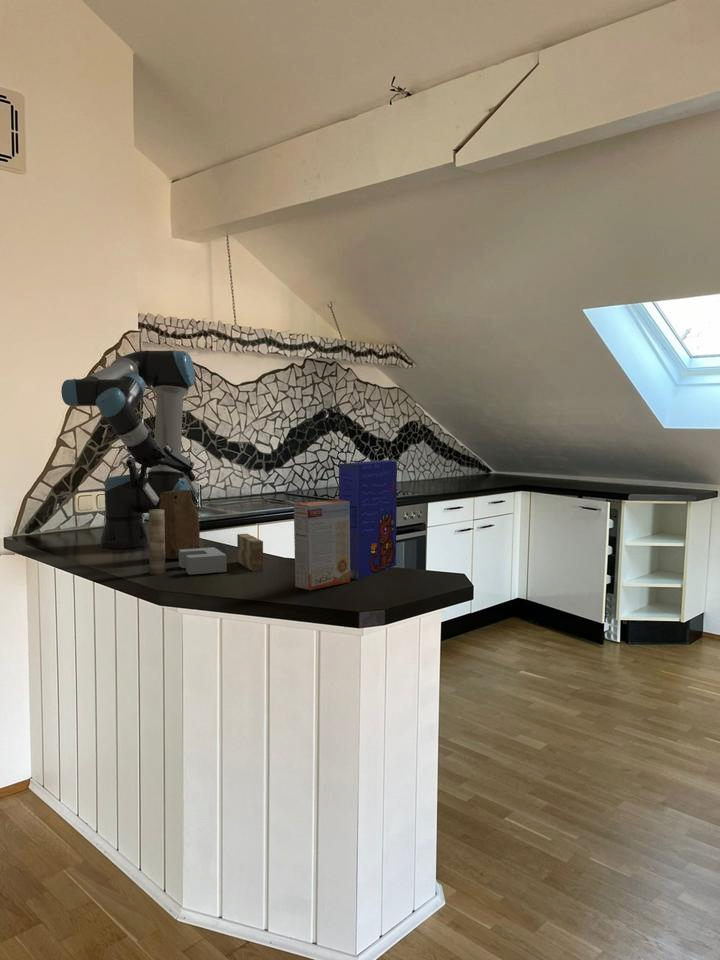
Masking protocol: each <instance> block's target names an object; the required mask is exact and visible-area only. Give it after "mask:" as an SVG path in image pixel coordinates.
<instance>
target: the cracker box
mask: <svg viewBox="0 0 720 960" xmlns="http://www.w3.org/2000/svg"><path fill="white" fill-rule="evenodd" d="M293 526H294V527H293V529H294V530H293V531H294V533H293V534H294V535H293V536H294V537H293V538H294V585H295V586H294V587H295V588H297V589H302V590H306V591H314V590H319V589H322V588H323V589H324V588H327V587H333V586H337V585H342V584H346V583H350V582H351V579H350V502H349V501H343V500H339V499H332V500H331V499H329V500H319V501H309V502H301V503H295V504H293Z"/></svg>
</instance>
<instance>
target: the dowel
mask: <svg viewBox="0 0 720 960" xmlns="http://www.w3.org/2000/svg"><path fill="white" fill-rule="evenodd" d="M148 532H149V533H148V534H149V535H148V537H149V544H148V545H149V548H148V549H149V575H152V574H153V575H154V576H158V575H165V574H166V558H165V515H164V510H163V509H153V510H149V513H148Z"/></svg>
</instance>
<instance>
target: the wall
mask: <svg viewBox="0 0 720 960" xmlns="http://www.w3.org/2000/svg"><path fill="white" fill-rule="evenodd" d="M236 538H237V541H236V542H237V547H236V548H237V549H236V551H237V563H239V564H240V565H242V566H243V567H245V568H247V569H248V570H250V571H252V572H257V571H264V541H263V540H261V539H260V538H256V537H255V536H254V535H251V534H249V533H238V534H237V537H236Z"/></svg>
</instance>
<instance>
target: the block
mask: <svg viewBox="0 0 720 960" xmlns="http://www.w3.org/2000/svg"><path fill="white" fill-rule="evenodd" d="M160 500H161V503H160V509H163V510H164V515H165V559H169V560H170V559H175V560H177V559H178V560H179V550H181V549H196V548H200V543H201V541H200V538H201V537H200V534H201V533H200V518H199V516H200V515H199V511H198V509H197V507H196V504H195V502H194V501H193V499H192V491H191V489H190V490H178V491H167V492H162V493H161V495H160Z"/></svg>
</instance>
